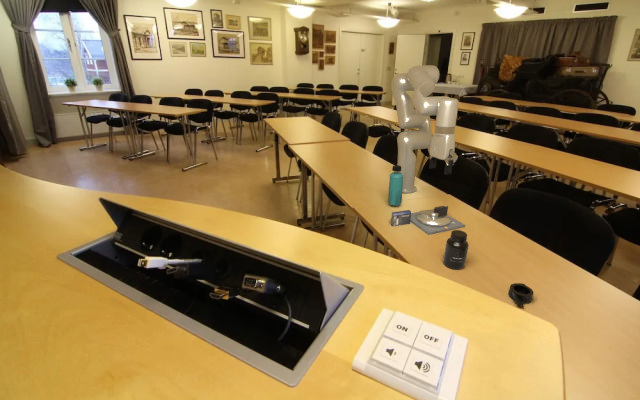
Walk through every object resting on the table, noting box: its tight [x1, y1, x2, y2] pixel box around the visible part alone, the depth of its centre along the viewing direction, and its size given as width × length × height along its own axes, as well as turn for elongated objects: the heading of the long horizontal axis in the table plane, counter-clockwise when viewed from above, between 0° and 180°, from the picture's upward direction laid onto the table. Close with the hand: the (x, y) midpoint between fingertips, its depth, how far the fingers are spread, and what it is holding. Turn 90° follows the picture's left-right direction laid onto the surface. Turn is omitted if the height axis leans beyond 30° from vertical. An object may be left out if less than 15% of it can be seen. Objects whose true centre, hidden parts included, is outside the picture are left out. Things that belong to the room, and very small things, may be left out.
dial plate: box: [410, 208, 466, 236], centre depth 138 cm, size 18×18×1 cm
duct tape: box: [507, 282, 534, 307], centre depth 92 cm, size 8×10×3 cm
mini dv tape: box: [390, 209, 412, 227], centre depth 135 cm, size 8×2×6 cm, turn 105°
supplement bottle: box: [442, 229, 470, 270], centre depth 106 cm, size 7×7×12 cm
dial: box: [416, 204, 452, 227], centre depth 136 cm, size 14×14×5 cm
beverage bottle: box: [387, 164, 403, 206], centre depth 150 cm, size 6×7×20 cm
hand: (439, 171), depth 135 cm, fingers open, 9 cm apart
